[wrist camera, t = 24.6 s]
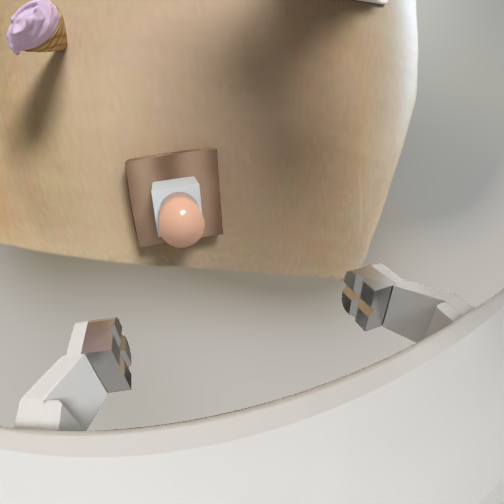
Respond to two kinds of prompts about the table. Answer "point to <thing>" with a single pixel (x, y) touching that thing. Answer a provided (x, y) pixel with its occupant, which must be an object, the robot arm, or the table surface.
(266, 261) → the table surface
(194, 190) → the white cube
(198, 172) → the walnut plinth
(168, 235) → the peach rounded block
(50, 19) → the ice cream cone
